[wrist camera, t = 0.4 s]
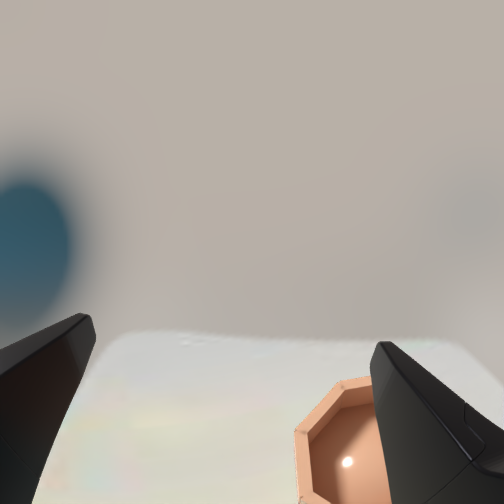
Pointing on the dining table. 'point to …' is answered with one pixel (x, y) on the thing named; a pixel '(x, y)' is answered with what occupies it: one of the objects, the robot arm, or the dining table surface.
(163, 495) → the dining table surface
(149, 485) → the dining table surface
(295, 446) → the bowl
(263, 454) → the dining table surface
